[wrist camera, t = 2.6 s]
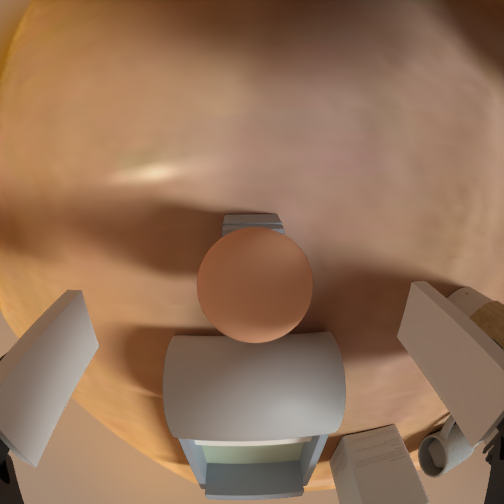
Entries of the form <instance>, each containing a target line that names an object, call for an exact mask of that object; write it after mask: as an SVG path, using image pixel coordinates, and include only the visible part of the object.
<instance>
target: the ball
mask: <svg viewBox="0 0 504 504" xmlns="http://www.w3.org/2000/svg"><path fill="white" fill-rule="evenodd" d="M197 293H198V298H199V302H200V305H201V307H202V310H203V312H204V314H205V315H206V317H207V318H208V320H209V321H210V322H211V323H212V324H213V325H214V327H215V328H217V329H218V330H219V331H220V332H222V333H223V334H225V335H227V336H228V337H231V338H233V339H235V340H238V341H242V342H248V343H263V342H268V341H272V340H275V339H277V338H280V337H282V336H284V335H285V334H287V333H288V332H290V331H291V330H292V329H293V328H294V327H296V326H297V325H298V323H299V322H300V321H301V320H302V318H303V317H304V315H305V314H306V312H307V310H308V308H309V305H310V302H311V299H312V293H313V277H312V271H311V268H310V265H309V263H308V260H307V258H306V256H305V255H304V253H303V252H302V250H301V249H300V248H299V247H298V246H297V244H296V243H294V242H293V241H292V240H291V239H290V238H288V237H287V236H285V235H283V234H281V233H279V232H277V231H274V230H271V229H268V228H262V227H249V228H243V229H239V230H236V231H233V232H231V233H229V234H227V235H225V236H224V237H222V238H221V239H219V240H218V241H217V242H216V243H215V244H214V245H213V246H212V247H211V248H210V249H209V250H208V252H207V253H206V255H205V257H204V258H203V261H202V263H201V265H200V268H199V272H198V278H197Z"/></svg>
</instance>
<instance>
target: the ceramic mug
mask: <svg viewBox="0 0 504 504" xmlns="http://www.w3.org/2000/svg"><path fill="white" fill-rule="evenodd" d="M454 423H455V420H454V418H453V417H452V415H450V416H449V418H448V419H447V420H446V422H445V424H444V426H443V428H442V430H441V431H438V432H436V433H433V434H431V435H428V436H427V437H425V438H424V439H423V440H422V442H421V444H420V446H419V451H418V458H419V463H420V466H421V468H422V470H423V471H424V473H425V474H426V475H428V476H430V477H434V478H435V477H438V476H441V475H442V474H444V473H446V472H447V471H449V470H450V469H452V468H453V467H455V466H457V465H458V464H459V463H461V462H463V461H464V460H466V459H467V458H468V457H469V456H470V455H471V454H472V453H473V452H474V450H475V448H476V446H475V447H473V448H472V447H471V446H470V444H469V442H468V441H467V439H466V437H465V436H464V434H463V432H462V431H461V429H460V428H459V426H458V424H455V425H453V424H454Z"/></svg>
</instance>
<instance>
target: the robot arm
mask: <svg viewBox="0 0 504 504" xmlns="http://www.w3.org/2000/svg"><path fill="white" fill-rule="evenodd" d="M397 338H398V340H399V341H400V342H401V344H402V345H403V346H404V348H405V349H406V350H407V352H408V353H409V354H410V356H411V357H412V358H413V360H414V361H415V363H416V364H417V365H418V367H419V368H420V370H421V371H422V372H423V374H424V375H425V377H426V378H427V379H428V381H429V382H430V384H431V385H432V387H433V388H434V390H435V391H436V393H437V394H438V395H439V397H440V398H441V400H442V401H443V403H444V404H445V406H446V407H447V409H448V410H449V412H450V414H451V415H452V417H453V418H454V420H455V421H456V423H457V424H458V426H459V428H460V429H461V431H462V432H463V434H464V436H465V437H466V439H467V441H468V442H469V444H470V446H471V447H472V448H473V447H475V446H476V445H478V444H480V443H481V442H483V441H484V440H486V439H487V438H488V437H489V436H490V434H491V433H492V432H493V431H494V430H495V428H497V429H498V431H499V432H498V433H497V434H496V435H495V436H494V438H493V439H492V440H491V441H490V442H489V443H488V444H487V445H486V447H485V448H484V450H483V453H486V452H487V451H488V450H489V449H490V448H491V446H492V445H494V447H493V448H492V449H491V450H490V451H489V453H488V454H491V455H493V457H492V464H491V471H490V477H489V483H488V488H487V493H486V497H485V502H484V504H504V350H503V347H502V346H501V345H500V344H499V343H497V342H496V341H495V340H494V339H492V338H491V337H489V336H488V335H487V334H486V333H485V332H484V331H483V330H482V329H481V328H480V327H479V326H477V325H476V324H475V323H474V322H473V321H472V320H471V319H470V318H469V317H467V316H466V315H465V314H464V313H463V312H462V311H461V310H460V309H458V308H457V307H456V306H455V305H454V304H453V303H451V302H450V301H449V300H448V299H447V298H446V297H444V296H443V295H442V294H441V293H440V292H438V291H437V290H436V289H435V288H434V287H432V286H431V285H430V284H429V283H427V282H426V281H417V282H411V287H410V291H409V295H408V299H407V303H406V307H405V311H404V314H403V318H402V321H401V325H400V328H399V331H398V335H397ZM98 348H99V344H98V341H97V338H96V335H95V332H94V329H93V326H92V323H91V320H90V317H89V314H88V310H87V307H86V303H85V300H84V296H83V293H82V290H67V291H66V292H65V293H64V294H63V295H62V296H61V297H60V298H59V299H57V300H56V301H55V302H54V303H53V304H52V305H51V306H50V307H49V308H48V309H47V310H46V311H45V312H44V314H43V315H42V316H41V317H40V318H39V319H38V320H37V321H36V322H35V323H34V324H33V325H32V326H31V327H30V328H29V329H28V330H27V331H26V332H25V334H24V335H23V336H22V337H21V338H20V339H19V340H18V341H17V343H16V344H15V345H14V346H13V347H12V348H11V349H10V350H9V352H8V353H6V354H5V355H4V356H2V357H1V358H0V504H24V502H23V499H22V496H21V493H20V489H19V485H18V482H17V478H16V474H15V470H14V465H13V461H12V459H11V457H10V456H9V455H8V452H9V450H11V451H12V452H13V453H14V454H15V455H16V456H17V457H18V458H19V459H20V460H23V461H24V462H26V463H28V464H30V465H32V466H34V467H37V464H38V462H39V460H40V457H41V456H42V453H43V451H44V449H45V447H46V444H47V442H48V440H49V438H50V436H51V434H52V432H53V430H54V428H55V426H56V424H57V422H58V419H59V418H60V416H61V414H62V412H63V410H64V408H65V406H66V404H67V402H68V400H69V398H70V397H71V395H72V393H73V391H74V389H75V387H76V386H77V384H78V382H79V380H80V378H81V377H82V375H83V373H84V371H85V370H86V368H87V366H88V364H89V363H90V361H91V359H92V358H93V356H94V354H95V353H96V351H97V349H98Z"/></svg>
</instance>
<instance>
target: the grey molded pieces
mask: <svg viewBox="0 0 504 504" xmlns="http://www.w3.org/2000/svg"><path fill="white" fill-rule="evenodd" d="M249 227H262V228H268V229H271V230H274V231H277V232H279V233H281V234H283V235H284V228H283V226H282V222H281V220H280V218H279V216H278V215H277V214H238V215H225V217H224V221H223V227H222V237H224V236H225V235H227V234H229V233H231V232H233V231H236V230H239V229H243V228H249ZM345 399H346V384H345V373H344V366H343V361H342V357H341V353H340V350H339V347H338V344H337V342H336V340H335V338H334V336H333V335H332V334H331V333H330V332H328V331H326V332H314V333H299V334H285V335H284V336H282V337H280V338H277V339H275V340H272V341H268V342H263V343H248V342H242V341H238V340H235V339H233V338H231V337H228V336H188V335H175V336H173V338H172V339H171V341H170V343H169V346H168V349H167V352H166V357H165V363H164V370H163V405H164V413H165V418H166V422H167V426H168V428H169V431H170V433H171V434H172V436H173V437H175V438H178V439H179V442H180V444H181V446H182V449H183V451H184V453H185V455H186V458H187V460H188V462H189V464H190V467H191V469H192V471H193V473H194V475H195V477H196V479H197V481H198V483H199V485H200V487H201V489H205V495H206V497H207V499H217V500H260V499H261V500H262V499H277V498H288V497H296V496H302V494H303V492H304V488H303V486H306V485H307V484H308V482H309V480H310V477H311V475H312V473H313V471H314V469H315V467H316V464H317V462H318V460H319V457H320V455H321V453H322V450H323V448H324V445H325V443H326V441H327V438H328V435H329V433H334V432H336V431H337V430H338V428H339V427H340V425H341V422H342V419H343V415H344V409H345Z"/></svg>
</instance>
